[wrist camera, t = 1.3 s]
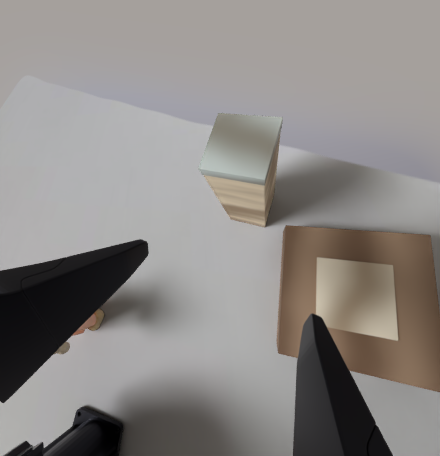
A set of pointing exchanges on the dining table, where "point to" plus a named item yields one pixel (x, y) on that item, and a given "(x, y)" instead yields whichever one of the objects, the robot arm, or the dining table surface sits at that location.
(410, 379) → the plinth
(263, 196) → the oak column
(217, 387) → the dining table surface
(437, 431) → the dining table surface
